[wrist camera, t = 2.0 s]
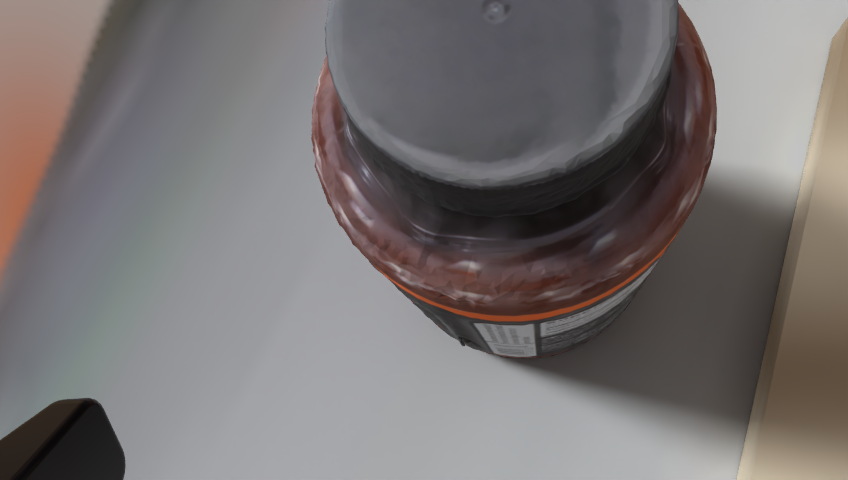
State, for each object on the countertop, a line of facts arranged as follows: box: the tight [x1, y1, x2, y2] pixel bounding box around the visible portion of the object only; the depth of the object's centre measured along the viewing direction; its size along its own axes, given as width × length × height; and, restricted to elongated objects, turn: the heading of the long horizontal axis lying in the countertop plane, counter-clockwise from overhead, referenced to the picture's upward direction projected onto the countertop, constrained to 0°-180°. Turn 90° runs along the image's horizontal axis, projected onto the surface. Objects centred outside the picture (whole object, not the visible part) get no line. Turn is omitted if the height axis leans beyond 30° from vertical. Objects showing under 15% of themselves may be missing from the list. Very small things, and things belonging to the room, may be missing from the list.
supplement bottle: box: [311, 0, 717, 358], centre depth 14 cm, size 6×6×11 cm
